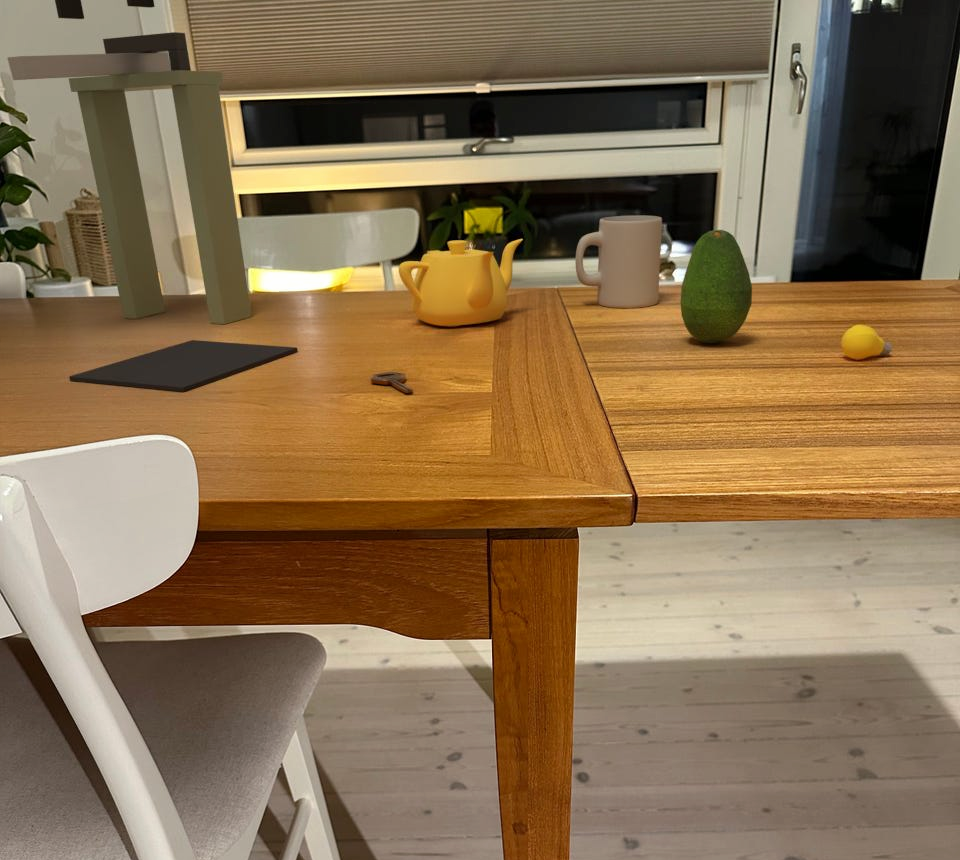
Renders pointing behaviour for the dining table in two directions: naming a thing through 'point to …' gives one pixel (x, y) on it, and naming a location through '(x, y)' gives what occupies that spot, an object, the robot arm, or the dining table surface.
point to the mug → (624, 261)
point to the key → (392, 380)
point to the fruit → (715, 288)
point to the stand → (203, 173)
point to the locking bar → (87, 65)
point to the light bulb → (863, 343)
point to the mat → (184, 365)
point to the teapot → (459, 284)
